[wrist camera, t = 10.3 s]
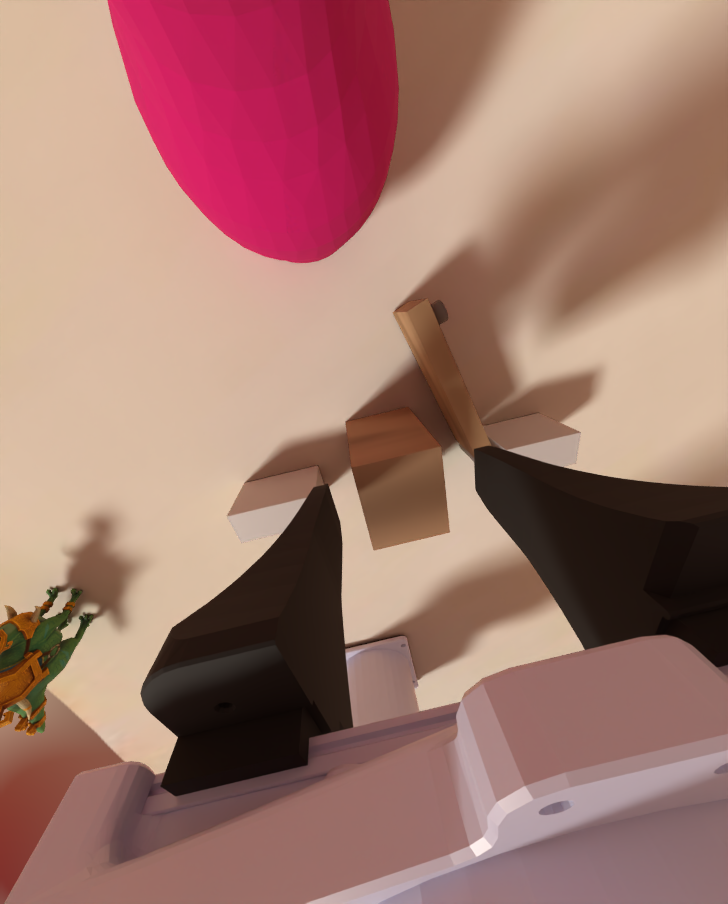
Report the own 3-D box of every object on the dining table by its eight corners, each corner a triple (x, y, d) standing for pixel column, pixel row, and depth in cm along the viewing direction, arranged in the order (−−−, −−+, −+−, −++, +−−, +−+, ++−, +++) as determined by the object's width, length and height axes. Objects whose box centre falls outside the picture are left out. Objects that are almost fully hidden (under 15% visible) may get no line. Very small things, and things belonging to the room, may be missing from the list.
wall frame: (536, 439, 19) (580, 466, 16) (256, 506, 20) (239, 546, 16) (538, 412, 19) (585, 434, 15) (244, 482, 19) (224, 520, 15)
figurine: (80, 561, 20) (-65, 701, 13) (112, 660, 25) (20, 802, 18) (29, 558, 20) (-153, 704, 12) (72, 660, 24) (-39, 807, 17)
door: (455, 439, 19) (478, 461, 16) (392, 312, 15) (407, 311, 12) (480, 425, 18) (507, 445, 16) (422, 292, 15) (444, 287, 12)
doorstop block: (417, 473, 20) (449, 532, 14) (362, 486, 20) (373, 550, 14) (407, 406, 18) (441, 446, 12) (345, 421, 18) (351, 467, 12)
